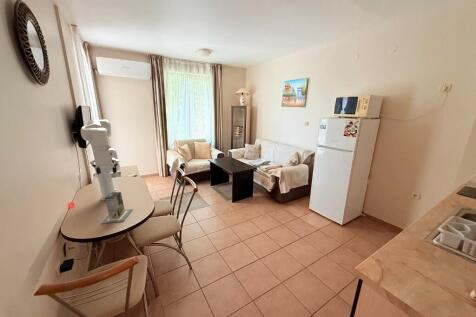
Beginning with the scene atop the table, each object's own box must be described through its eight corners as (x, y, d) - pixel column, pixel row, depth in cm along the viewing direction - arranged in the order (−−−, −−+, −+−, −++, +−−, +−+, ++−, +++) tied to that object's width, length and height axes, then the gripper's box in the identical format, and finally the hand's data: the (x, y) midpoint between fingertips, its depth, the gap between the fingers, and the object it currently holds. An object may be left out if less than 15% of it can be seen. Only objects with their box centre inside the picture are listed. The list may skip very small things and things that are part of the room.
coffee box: (116, 212, 138) (111, 192, 134) (125, 211, 139) (121, 191, 135) (109, 219, 130) (104, 197, 126) (118, 218, 130) (114, 197, 126)
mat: (112, 211, 141) (112, 210, 141) (132, 209, 143) (132, 208, 143) (101, 224, 126) (100, 223, 126) (123, 221, 128) (123, 220, 127)
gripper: (118, 146, 127) (123, 170, 132) (90, 147, 125) (96, 172, 129) (113, 148, 120) (118, 174, 125) (83, 150, 118) (89, 176, 122)
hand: (107, 173), depth 127 cm, fingers open, 9 cm apart
